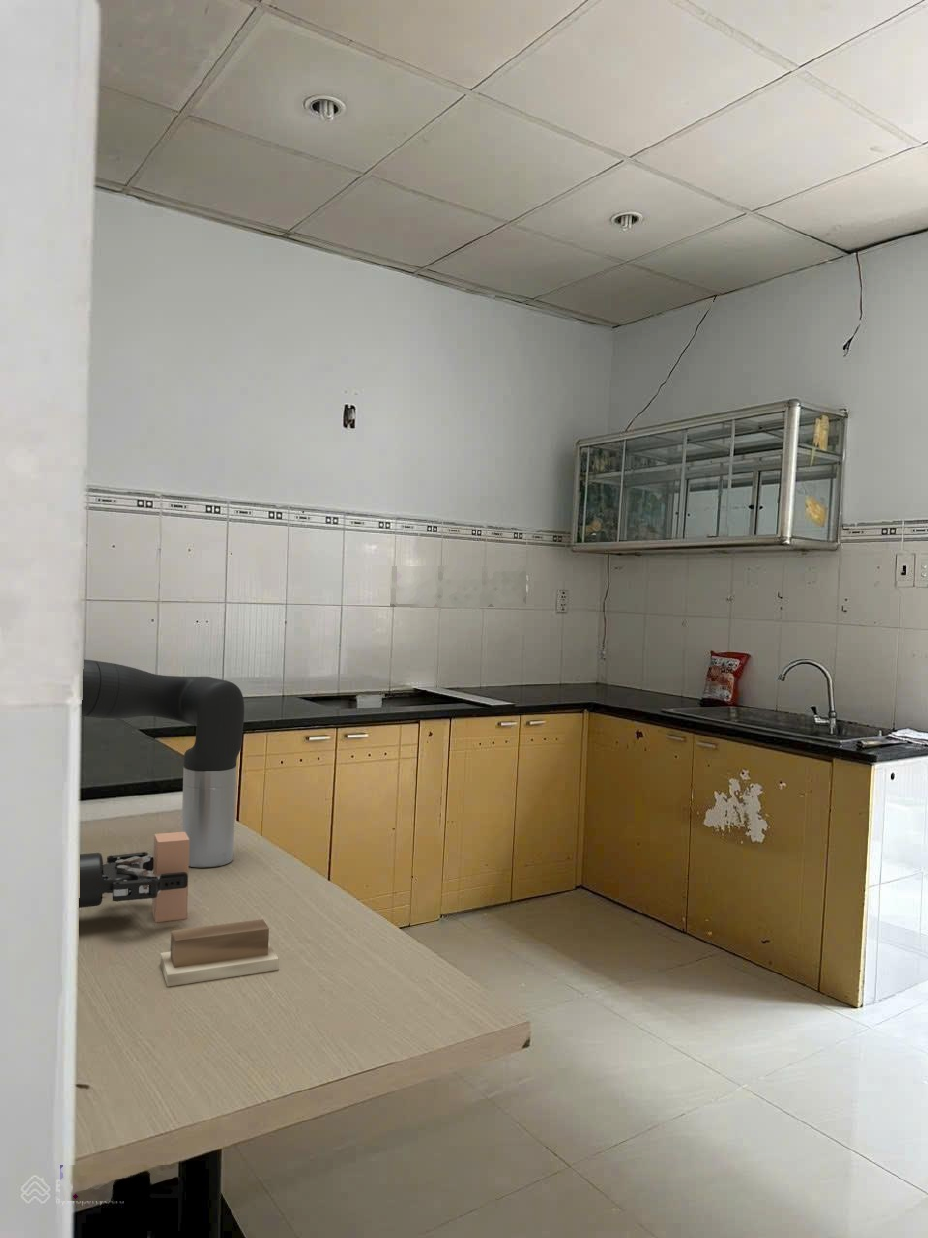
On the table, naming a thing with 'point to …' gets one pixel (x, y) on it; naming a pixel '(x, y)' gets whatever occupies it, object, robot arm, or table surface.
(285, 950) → the table surface
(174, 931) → the stand
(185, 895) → the block
